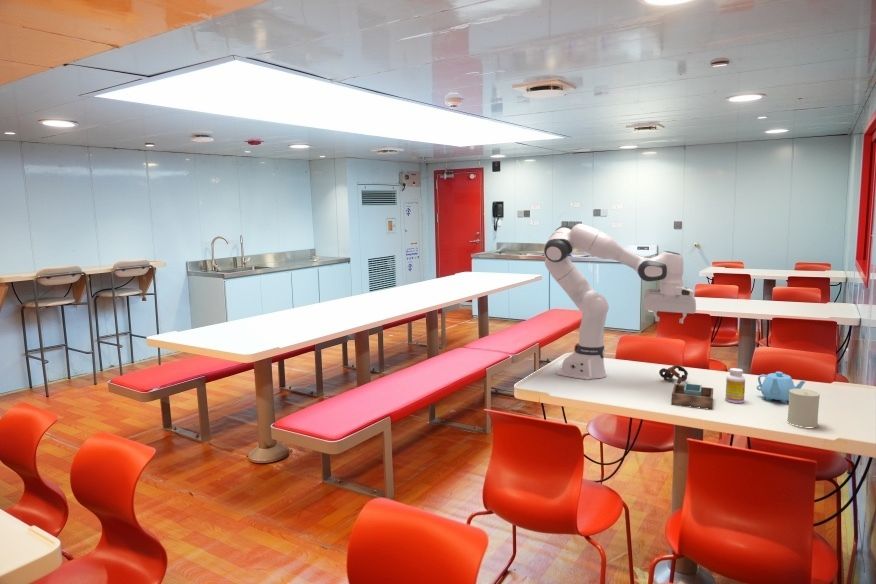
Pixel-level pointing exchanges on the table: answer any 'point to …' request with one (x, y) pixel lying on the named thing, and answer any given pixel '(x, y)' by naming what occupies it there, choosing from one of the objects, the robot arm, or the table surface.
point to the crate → (692, 397)
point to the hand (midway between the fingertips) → (669, 322)
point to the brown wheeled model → (674, 373)
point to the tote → (692, 389)
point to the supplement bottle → (735, 386)
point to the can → (803, 407)
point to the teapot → (777, 386)
